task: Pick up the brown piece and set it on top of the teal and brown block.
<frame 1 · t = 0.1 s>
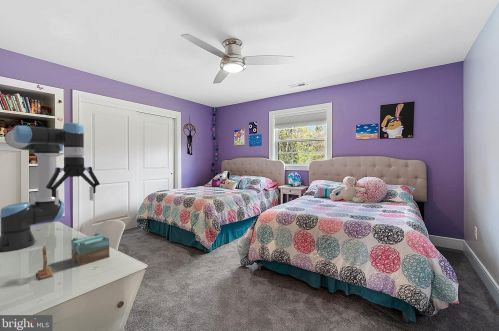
hand: (75, 202, 110), 28 cm above the table, tool pointing down, fingers open, 13 cm apart
brown piece: (45, 275, 98), on the table
teal and brown block: (90, 257, 115), on the table
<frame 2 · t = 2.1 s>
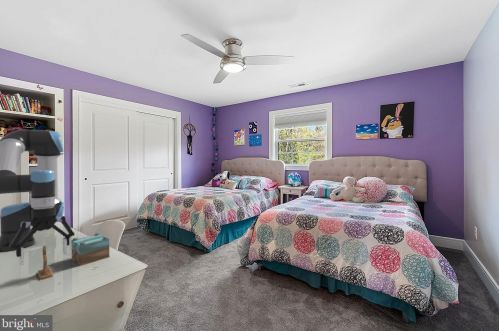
hand: (44, 258, 98), 7 cm above the table, tool pointing down, fingers open, 13 cm apart
nothing on the table moved.
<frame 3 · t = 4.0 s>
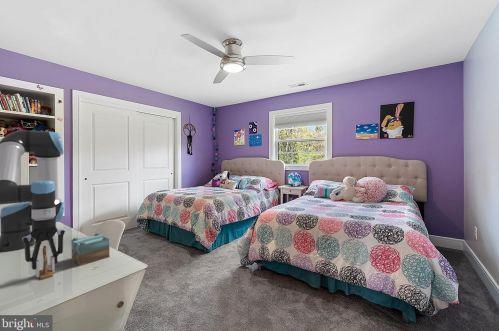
hand: (45, 273, 98), 0 cm above the table, tool pointing down, fingers closed on brown piece, 4 cm apart
brown piece: (45, 275, 98), on the table, touching gripper
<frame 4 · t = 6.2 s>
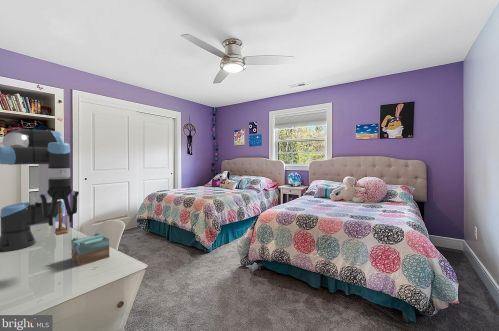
hand: (60, 231, 103), 16 cm above the table, tool pointing down, fingers closed on brown piece, 4 cm apart
brown piece: (60, 232, 103), point 16 cm above the table, touching gripper
when the fingers open (11 cm above the table, at t = 8.6 s): brown piece drops 1 cm, resting on teal and brown block.
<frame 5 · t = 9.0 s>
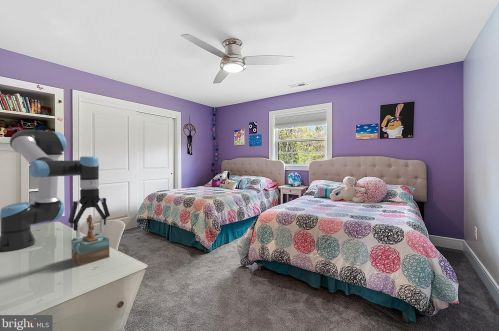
hand: (90, 234, 114), 12 cm above the table, tool pointing down, fingers open, 9 cm apart
brown piece: (90, 239, 115), point 9 cm above the table, touching teal and brown block
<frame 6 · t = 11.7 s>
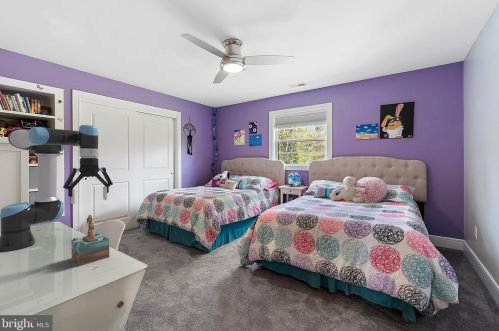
hand: (89, 201, 114), 27 cm above the table, tool pointing down, fingers open, 13 cm apart
nothing on the table moved.
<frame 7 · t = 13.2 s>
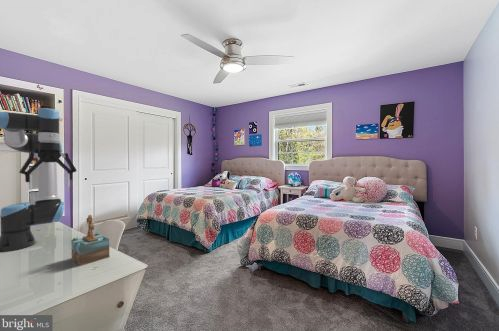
hand: (50, 188, 110), 35 cm above the table, tool pointing down, fingers open, 13 cm apart
nothing on the table moved.
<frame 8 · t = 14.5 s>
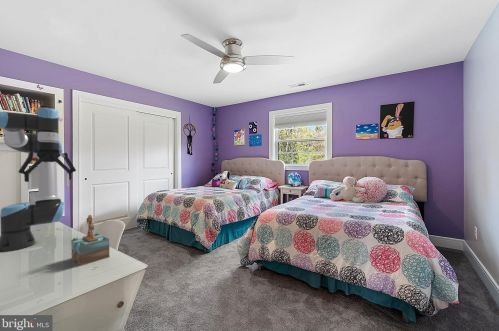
hand: (49, 187, 110), 35 cm above the table, tool pointing down, fingers open, 13 cm apart
nothing on the table moved.
at the end: brown piece inside the target area on the teal and brown block (0.1 cm from its centre), point 8.8 cm above the teal and brown block's base; brown piece tilted 0°; the gripper is holding nothing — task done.
